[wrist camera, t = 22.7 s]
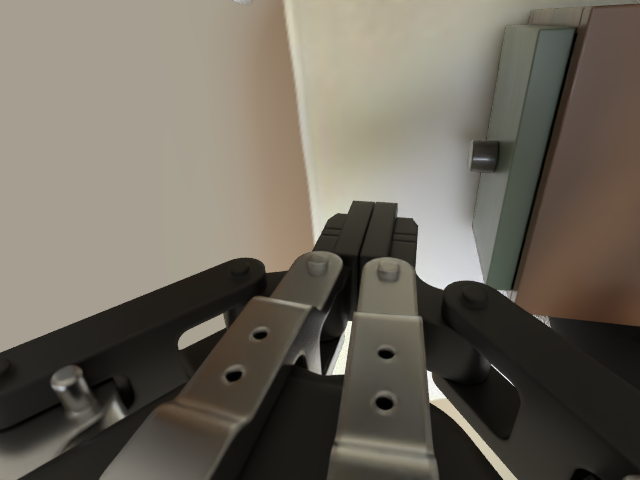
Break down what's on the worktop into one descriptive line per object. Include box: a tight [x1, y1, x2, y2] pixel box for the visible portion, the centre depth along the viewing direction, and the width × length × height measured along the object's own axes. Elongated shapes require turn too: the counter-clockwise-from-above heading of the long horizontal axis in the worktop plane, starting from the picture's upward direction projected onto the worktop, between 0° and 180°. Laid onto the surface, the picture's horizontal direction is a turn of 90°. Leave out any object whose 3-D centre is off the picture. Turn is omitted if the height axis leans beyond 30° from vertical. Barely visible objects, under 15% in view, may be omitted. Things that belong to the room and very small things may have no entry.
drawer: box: [468, 24, 576, 291], centre depth 18 cm, size 10×11×7 cm
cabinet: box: [506, 4, 640, 326], centre depth 18 cm, size 10×13×9 cm
